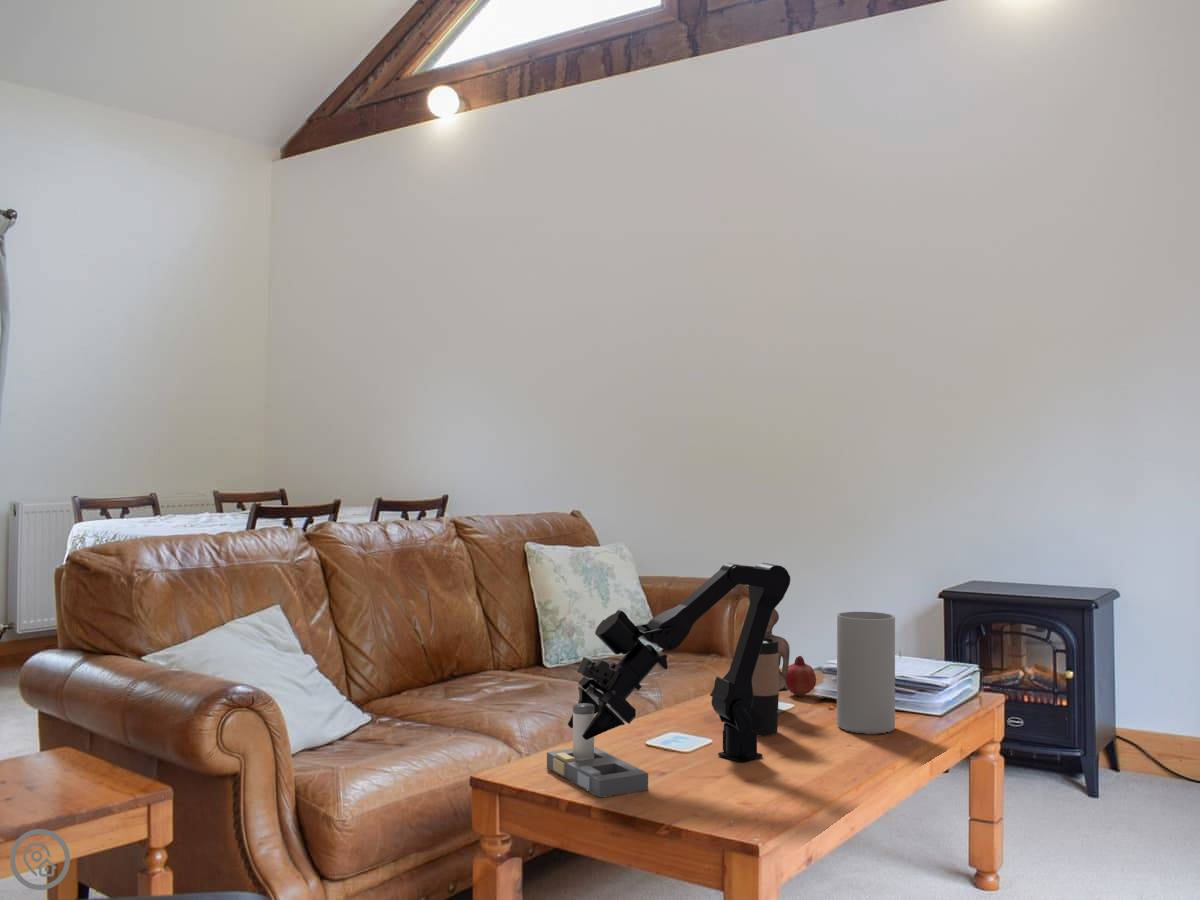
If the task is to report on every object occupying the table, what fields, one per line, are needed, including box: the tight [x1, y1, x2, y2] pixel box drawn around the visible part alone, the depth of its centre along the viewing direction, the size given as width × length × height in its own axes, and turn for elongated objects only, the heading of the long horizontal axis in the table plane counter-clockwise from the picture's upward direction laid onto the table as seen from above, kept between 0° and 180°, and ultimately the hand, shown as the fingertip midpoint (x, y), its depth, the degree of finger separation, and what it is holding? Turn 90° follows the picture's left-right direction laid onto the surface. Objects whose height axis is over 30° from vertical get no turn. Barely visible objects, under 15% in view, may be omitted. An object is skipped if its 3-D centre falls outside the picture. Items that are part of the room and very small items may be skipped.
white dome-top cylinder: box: [572, 702, 595, 761], centre depth 203 cm, size 4×4×12 cm
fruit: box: [784, 655, 817, 696], centre depth 270 cm, size 8×8×10 cm
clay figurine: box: [764, 609, 791, 693], centre depth 255 cm, size 13×10×25 cm
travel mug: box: [752, 638, 780, 736], centre depth 234 cm, size 8×8×20 cm
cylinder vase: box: [836, 611, 896, 735], centre depth 238 cm, size 12×12×25 cm
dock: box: [546, 746, 649, 798], centre depth 199 cm, size 21×10×4 cm, turn 29°
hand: (576, 732), depth 203 cm, fingers open, 9 cm apart
